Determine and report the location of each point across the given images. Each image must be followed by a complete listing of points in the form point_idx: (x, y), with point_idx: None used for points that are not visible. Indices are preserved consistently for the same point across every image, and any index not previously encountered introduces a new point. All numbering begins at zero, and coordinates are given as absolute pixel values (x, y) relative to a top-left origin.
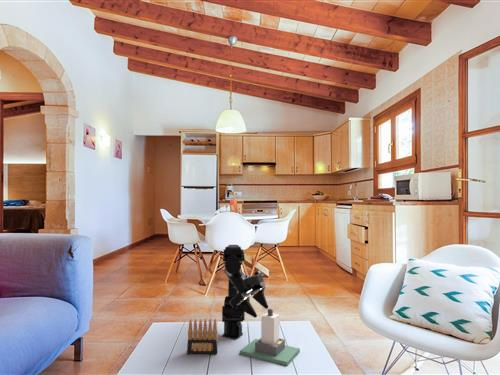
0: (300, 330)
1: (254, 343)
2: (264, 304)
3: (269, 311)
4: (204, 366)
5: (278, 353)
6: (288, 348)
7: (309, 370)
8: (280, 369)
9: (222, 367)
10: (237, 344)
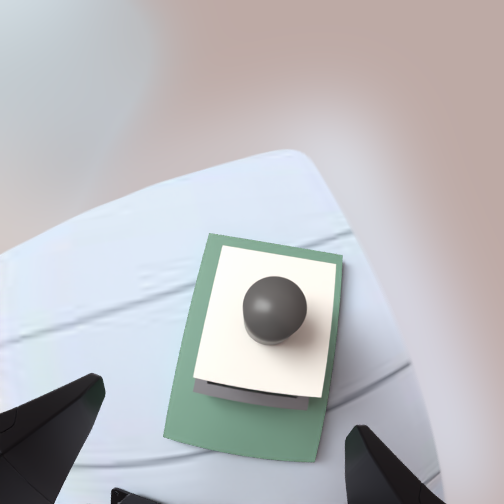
0: (35, 266)
1: (217, 431)
2: (80, 415)
3: (305, 311)
4: None
5: None
6: None
7: (333, 196)
8: (369, 276)
9: (419, 451)
10: (221, 495)
